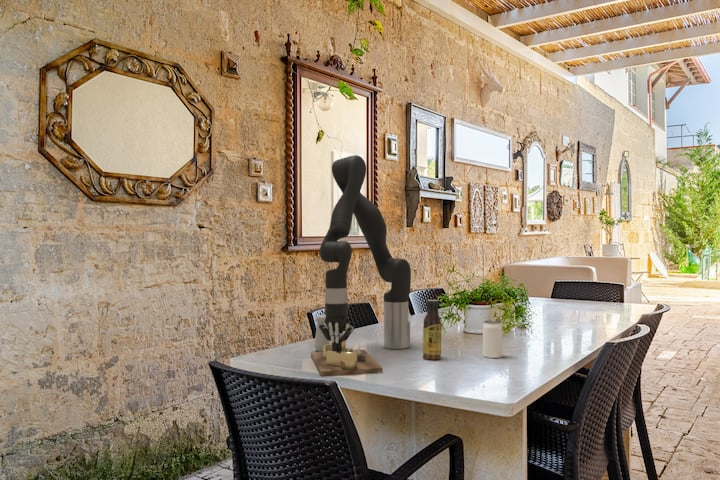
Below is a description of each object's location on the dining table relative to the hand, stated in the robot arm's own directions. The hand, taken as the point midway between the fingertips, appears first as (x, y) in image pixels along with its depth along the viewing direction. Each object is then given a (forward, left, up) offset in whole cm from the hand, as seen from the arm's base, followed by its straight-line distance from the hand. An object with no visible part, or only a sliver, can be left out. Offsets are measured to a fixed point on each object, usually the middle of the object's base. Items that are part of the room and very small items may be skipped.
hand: (336, 353), depth 195 cm
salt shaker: (+2, -22, -3) cm, 22 cm away
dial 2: (0, +12, -1) cm, 12 cm away
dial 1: (0, -5, -1) cm, 6 cm away
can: (-54, +2, -3) cm, 54 cm away
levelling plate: (-2, +2, -3) cm, 4 cm away
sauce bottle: (-33, 0, -3) cm, 33 cm away
